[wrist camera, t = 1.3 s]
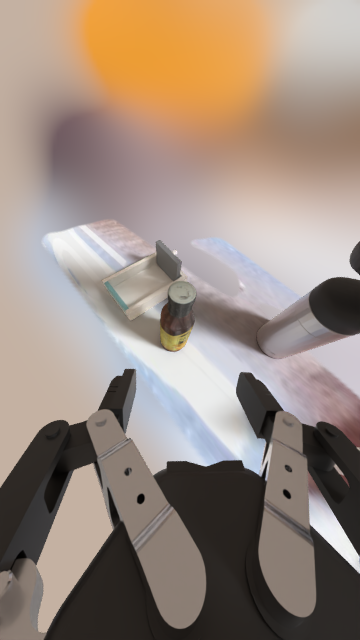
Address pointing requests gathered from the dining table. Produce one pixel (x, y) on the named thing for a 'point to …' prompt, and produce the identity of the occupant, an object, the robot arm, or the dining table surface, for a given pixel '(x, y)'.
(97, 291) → the dining table surface
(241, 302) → the dining table surface
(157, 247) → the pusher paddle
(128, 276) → the pusher lane
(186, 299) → the sauce bottle
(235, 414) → the dining table surface
